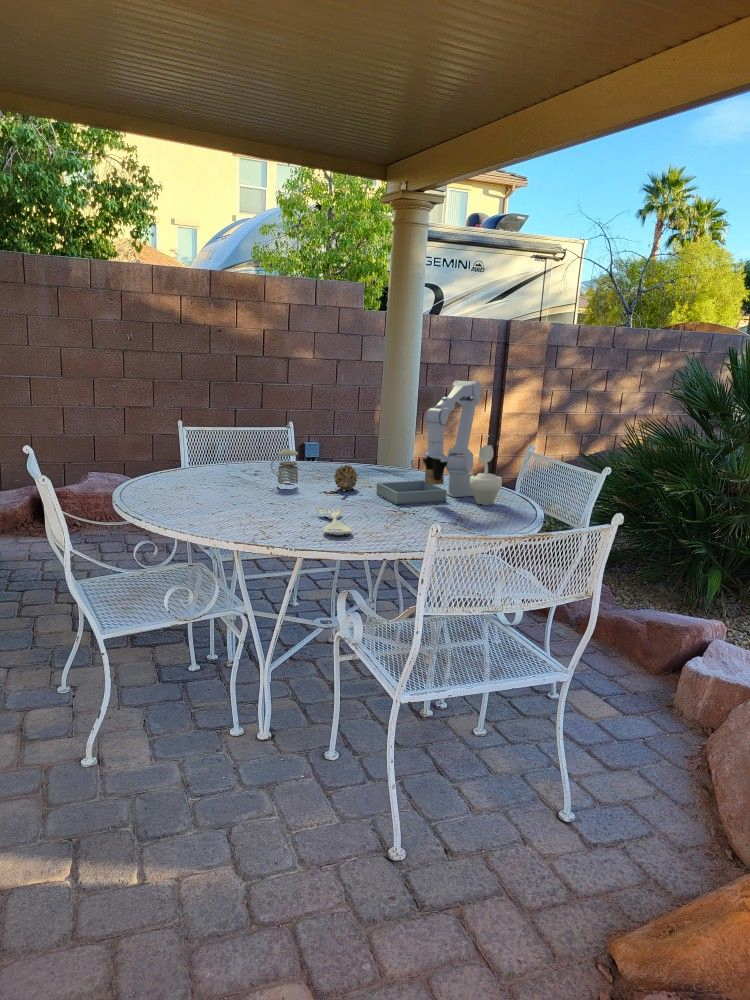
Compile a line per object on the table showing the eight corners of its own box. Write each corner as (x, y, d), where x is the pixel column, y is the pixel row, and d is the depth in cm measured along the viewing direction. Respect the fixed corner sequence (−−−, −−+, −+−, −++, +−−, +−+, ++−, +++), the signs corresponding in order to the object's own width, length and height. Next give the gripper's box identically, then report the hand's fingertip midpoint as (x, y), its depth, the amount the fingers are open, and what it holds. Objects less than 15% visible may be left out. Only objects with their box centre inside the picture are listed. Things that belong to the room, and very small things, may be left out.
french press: (302, 489, 290) (302, 426, 285) (273, 490, 287) (272, 426, 282) (298, 484, 299) (298, 423, 294) (269, 485, 296) (269, 423, 291)
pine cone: (334, 486, 297) (334, 462, 295) (357, 486, 297) (358, 462, 295) (332, 497, 276) (332, 471, 273) (357, 497, 276) (357, 471, 274)
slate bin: (423, 491, 290) (423, 480, 289) (446, 501, 272) (446, 490, 271) (376, 494, 283) (376, 482, 282) (396, 505, 265) (396, 492, 264)
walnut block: (437, 481, 269) (437, 468, 268) (443, 483, 265) (443, 470, 264) (424, 482, 268) (425, 468, 267) (430, 484, 263) (431, 471, 262)
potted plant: (500, 507, 264) (504, 438, 258) (467, 505, 266) (470, 437, 261) (501, 500, 276) (505, 434, 271) (470, 498, 278) (473, 433, 273)
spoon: (341, 514, 249) (341, 505, 248) (354, 539, 218) (355, 528, 218) (315, 515, 248) (315, 505, 247) (324, 540, 217) (325, 528, 216)
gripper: (417, 439, 268) (415, 475, 271) (434, 444, 255) (433, 482, 258) (434, 438, 271) (433, 474, 274) (452, 444, 258) (451, 481, 261)
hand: (434, 478), depth 266 cm, fingers closed on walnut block, 5 cm apart
